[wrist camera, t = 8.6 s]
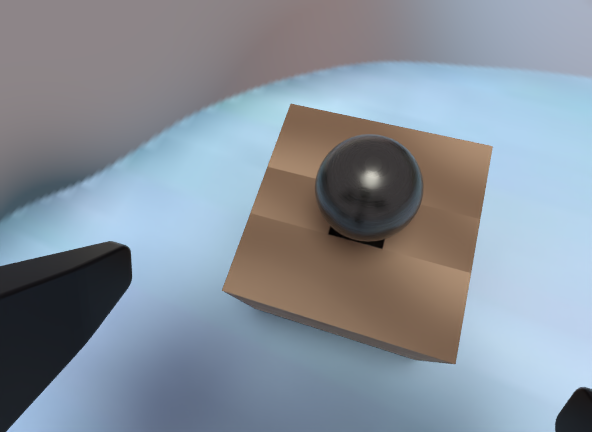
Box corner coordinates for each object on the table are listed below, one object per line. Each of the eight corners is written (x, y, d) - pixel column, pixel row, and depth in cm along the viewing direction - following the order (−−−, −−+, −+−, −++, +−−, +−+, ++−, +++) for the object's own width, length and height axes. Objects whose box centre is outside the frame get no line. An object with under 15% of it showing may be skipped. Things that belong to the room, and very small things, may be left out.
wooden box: (415, 360, 18) (455, 364, 12) (254, 308, 19) (221, 290, 13) (447, 204, 20) (492, 146, 14) (301, 168, 21) (290, 103, 16)
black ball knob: (402, 330, 17) (473, 310, 9) (277, 292, 18) (228, 239, 10) (428, 210, 19) (508, 93, 10) (312, 182, 20) (298, 54, 11)
